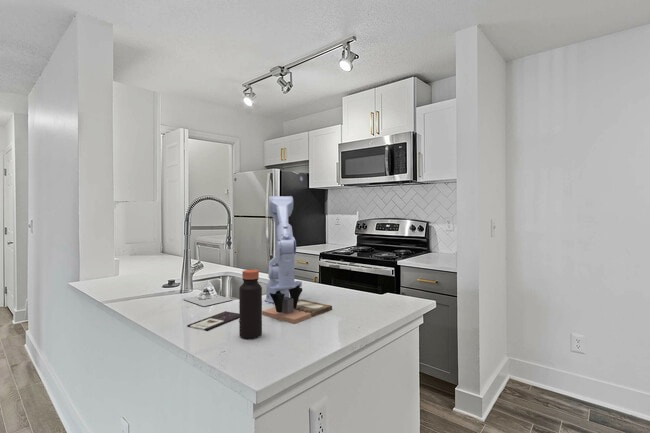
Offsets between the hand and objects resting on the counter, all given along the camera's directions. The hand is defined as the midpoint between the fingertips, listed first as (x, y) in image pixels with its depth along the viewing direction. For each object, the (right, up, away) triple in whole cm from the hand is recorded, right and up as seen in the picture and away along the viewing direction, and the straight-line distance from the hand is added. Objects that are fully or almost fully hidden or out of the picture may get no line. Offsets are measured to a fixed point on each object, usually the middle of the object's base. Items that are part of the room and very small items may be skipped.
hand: (286, 309), depth 131 cm
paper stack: (-42, -2, +21) cm, 47 cm away
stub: (0, -2, 0) cm, 2 cm away
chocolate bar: (-23, -3, -6) cm, 24 cm away
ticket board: (+7, -2, +9) cm, 11 cm away
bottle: (-9, -3, -20) cm, 22 cm away
